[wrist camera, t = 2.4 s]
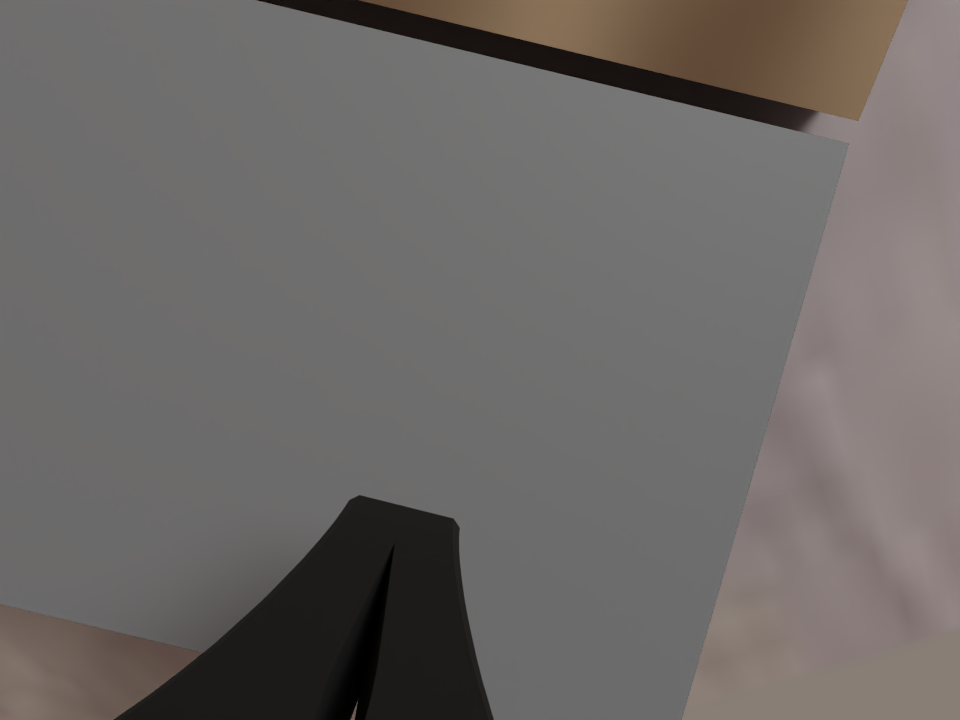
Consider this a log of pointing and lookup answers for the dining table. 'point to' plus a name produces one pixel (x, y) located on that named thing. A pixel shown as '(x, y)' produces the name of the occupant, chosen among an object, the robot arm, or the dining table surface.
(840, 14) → the laid boards
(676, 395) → the loose plank
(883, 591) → the dining table surface
